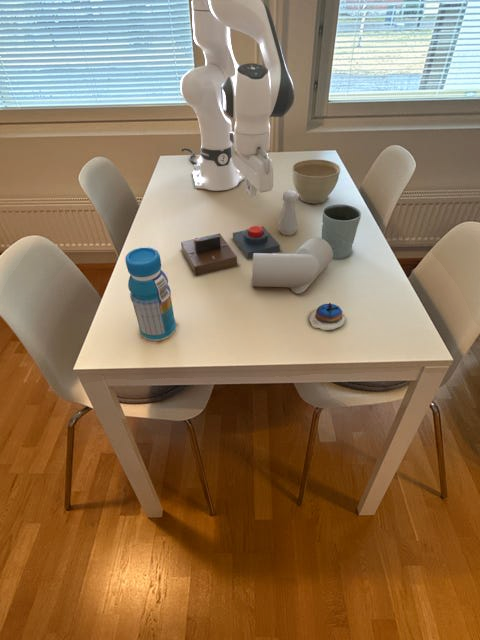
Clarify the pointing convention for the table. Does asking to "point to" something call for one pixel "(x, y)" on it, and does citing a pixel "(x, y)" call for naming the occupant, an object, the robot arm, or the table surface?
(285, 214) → the salt shaker
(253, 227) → the red button
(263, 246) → the button box
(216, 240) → the lever
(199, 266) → the dial base
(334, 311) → the dessert
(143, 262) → the beverage bottle
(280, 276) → the bent grey cylinder
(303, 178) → the planter bowl
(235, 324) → the table surface
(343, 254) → the light blue cup
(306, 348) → the table surface
